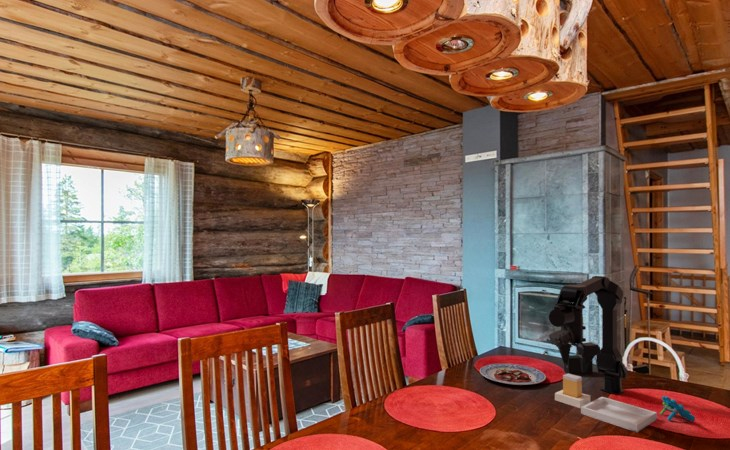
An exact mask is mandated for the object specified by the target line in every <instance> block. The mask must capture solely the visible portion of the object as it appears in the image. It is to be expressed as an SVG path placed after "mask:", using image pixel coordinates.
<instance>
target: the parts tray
mask: <svg viewBox="0 0 730 450" xmlns="http://www.w3.org/2000/svg"><path fill="white" fill-rule="evenodd" d="M580 414H581V415H584V416H586V417H589V418H592V419H596V420H598V421H601V422H604V423H607V424H611V425H614V426H617V427H620V428H623V429H625V430H629V431H631V432H634V433H639V432H640V431H642V430H643V429H645V428H646V427H648V426H649V425H650V424H652V423H654V422H655V421H657V420H658V419H657V418H658V413H657V411H653V410H649V409H646V408H643V407H639V406H636V405H633V404H629V403H627V402H626V403H625V402H622V401H619V400H616V399H612V398H609V397H605V396H600V397H598V398H596V399H594V400H592V401H590V403H588V404H586V405H584V406H582V407H581V408H580Z"/></svg>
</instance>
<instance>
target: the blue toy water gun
mask: <svg viewBox="0 0 730 450" xmlns="http://www.w3.org/2000/svg"><path fill="white" fill-rule="evenodd" d="M661 400H662V405H663V406H662V408H663V409H662V410H661V411H660V412H659V415H661V416H663V415H664V414H665V412H669V413H670V414H669V415H668V417H667V418H666V420H667V421H669V422H671V421H672V419H673V418H674V417H675V416H676V415H677V416H678V414H679V416H682V417H681V418H683V419H684V418H685V419H686V420H687V421H689V422H692V423H694V422H695V420H696V417H695V416H694V415H693V414H691V413H692V412H691V411H689V410H688V409H685V406H684V405H682V404H681V403H678V402H677V401H676V400H675V399H673V398H671V397H669V396H668V395H663V396H661Z"/></svg>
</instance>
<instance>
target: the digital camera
mask: <svg viewBox="0 0 730 450" xmlns="http://www.w3.org/2000/svg"><path fill="white" fill-rule="evenodd" d="M593 359H594V358H593ZM593 359H592V361H591V363H590V364H589V366H588V368H587V370H586V372H582V370H581V361H580V356H579V355H578V354H573V355H571V354H569V359H568V362H567V364H564V363H563V372H564V373H565V374H572V375H593V373H594V371H593V370H594V368H593V366H594V364H593Z"/></svg>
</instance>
